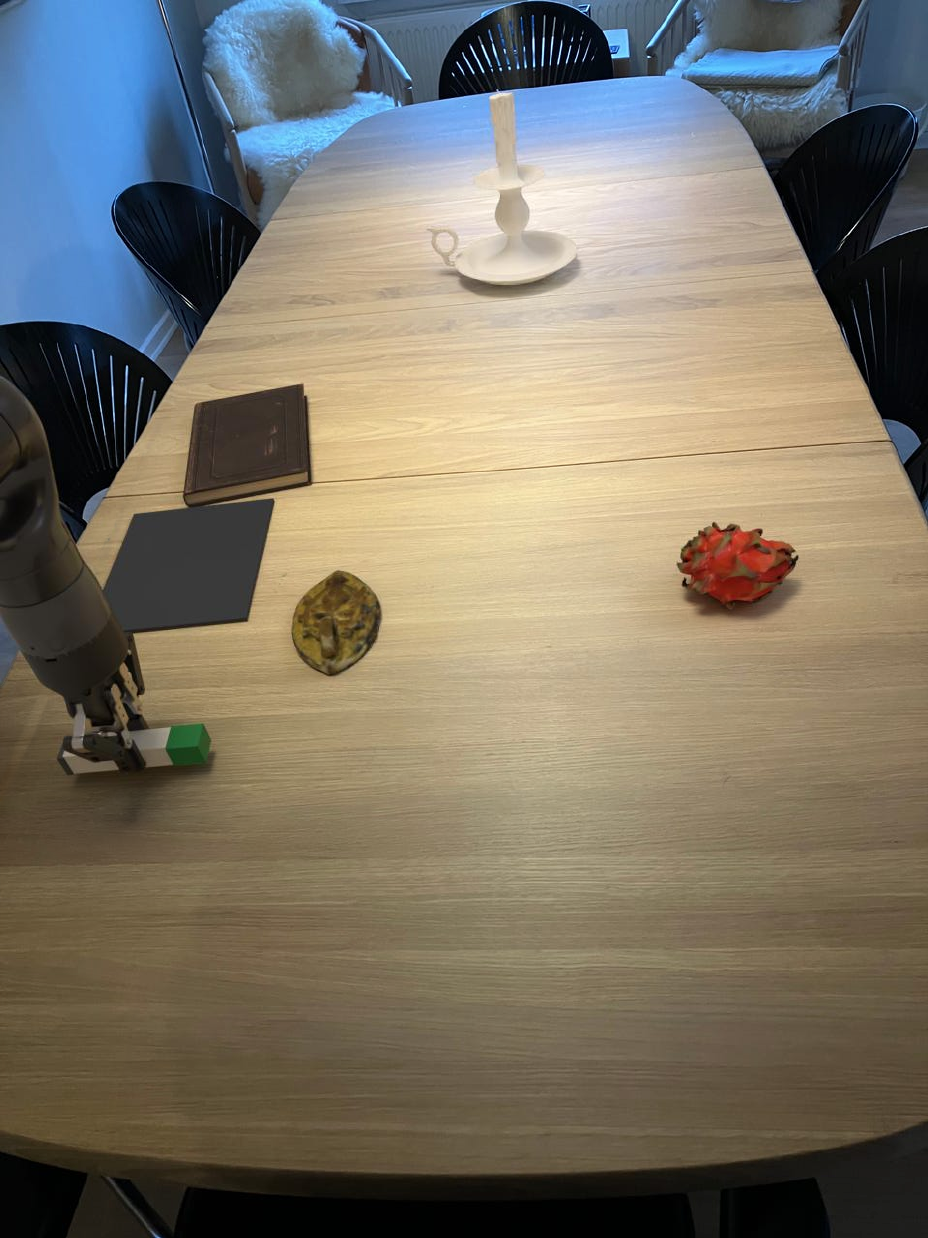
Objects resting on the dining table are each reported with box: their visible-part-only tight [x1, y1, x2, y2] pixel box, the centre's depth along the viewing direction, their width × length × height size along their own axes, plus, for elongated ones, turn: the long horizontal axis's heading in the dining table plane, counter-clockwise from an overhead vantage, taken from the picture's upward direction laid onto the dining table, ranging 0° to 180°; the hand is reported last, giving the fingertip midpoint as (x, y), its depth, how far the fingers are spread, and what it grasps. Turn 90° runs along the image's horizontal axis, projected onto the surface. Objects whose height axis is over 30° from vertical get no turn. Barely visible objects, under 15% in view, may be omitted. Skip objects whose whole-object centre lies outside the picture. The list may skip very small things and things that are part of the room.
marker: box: [56, 722, 212, 776], centre depth 84 cm, size 13×3×2 cm, turn 91°
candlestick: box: [426, 89, 579, 286], centre depth 147 cm, size 21×25×28 cm
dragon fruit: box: [675, 521, 800, 610], centre depth 91 cm, size 8×8×12 cm
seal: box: [291, 569, 382, 675], centre depth 96 cm, size 9×5×15 cm
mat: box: [102, 497, 275, 634], centre depth 108 cm, size 18×22×1 cm
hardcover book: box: [182, 382, 313, 508], centre depth 124 cm, size 16×23×2 cm
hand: (138, 756), depth 84 cm, fingers closed on marker, 2 cm apart
